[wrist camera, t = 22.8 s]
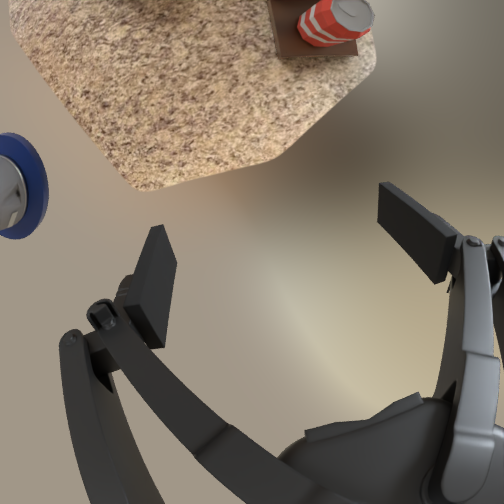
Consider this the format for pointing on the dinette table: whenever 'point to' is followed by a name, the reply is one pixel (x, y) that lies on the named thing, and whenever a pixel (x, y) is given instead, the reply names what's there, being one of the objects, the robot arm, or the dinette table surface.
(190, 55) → the dinette table surface
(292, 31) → the wooden l-shaped step
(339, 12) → the beverage can
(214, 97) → the dinette table surface
